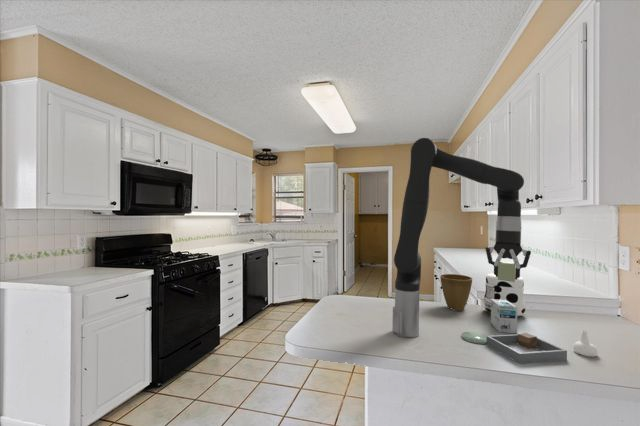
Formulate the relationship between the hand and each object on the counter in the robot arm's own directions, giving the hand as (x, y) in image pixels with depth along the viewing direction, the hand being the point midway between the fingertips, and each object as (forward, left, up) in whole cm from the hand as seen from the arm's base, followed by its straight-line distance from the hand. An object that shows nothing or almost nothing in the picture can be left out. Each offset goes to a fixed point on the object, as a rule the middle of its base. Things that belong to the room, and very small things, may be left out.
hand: (506, 277), depth 108 cm
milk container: (+29, +35, -25) cm, 52 cm away
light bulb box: (+14, +18, -25) cm, 34 cm away
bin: (+4, -3, -25) cm, 25 cm away
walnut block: (+9, +1, -25) cm, 27 cm away
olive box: (0, 0, -1) cm, 1 cm away
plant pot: (+11, +46, -25) cm, 53 cm away
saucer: (-5, +9, -25) cm, 27 cm away
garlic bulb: (+25, -7, -25) cm, 36 cm away
